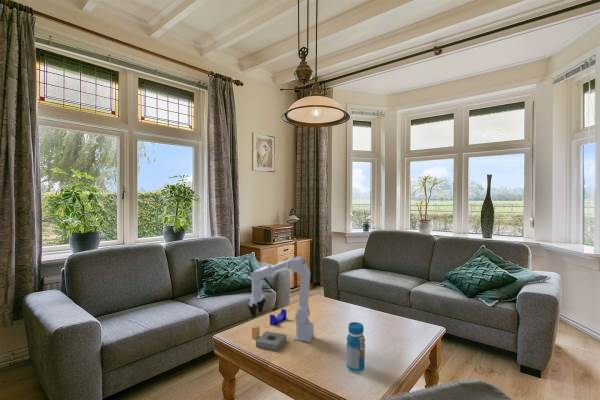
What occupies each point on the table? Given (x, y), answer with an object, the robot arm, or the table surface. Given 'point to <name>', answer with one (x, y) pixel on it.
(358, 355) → the beverage bottle
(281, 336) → the socket block
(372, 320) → the table surface
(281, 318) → the cable clip
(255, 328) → the plug peg
